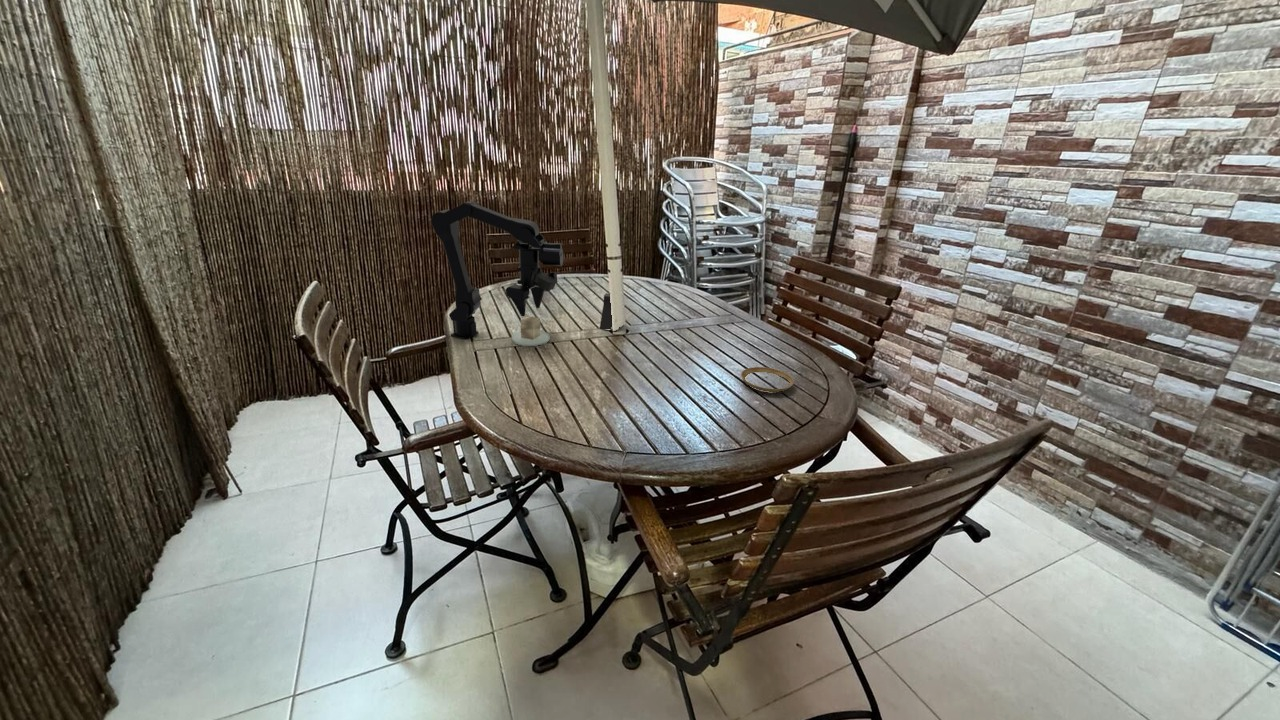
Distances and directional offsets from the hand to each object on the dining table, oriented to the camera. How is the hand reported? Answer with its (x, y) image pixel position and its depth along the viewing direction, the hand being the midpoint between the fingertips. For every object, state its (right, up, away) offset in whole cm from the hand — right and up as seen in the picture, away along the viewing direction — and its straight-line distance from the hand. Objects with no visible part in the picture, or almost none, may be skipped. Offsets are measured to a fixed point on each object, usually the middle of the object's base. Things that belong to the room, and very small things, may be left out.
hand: (530, 312), depth 164 cm
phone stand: (+25, -4, +20) cm, 32 cm away
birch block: (-1, -8, +3) cm, 8 cm away
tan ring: (+71, -23, -17) cm, 77 cm away
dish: (-1, -9, +4) cm, 10 cm away
